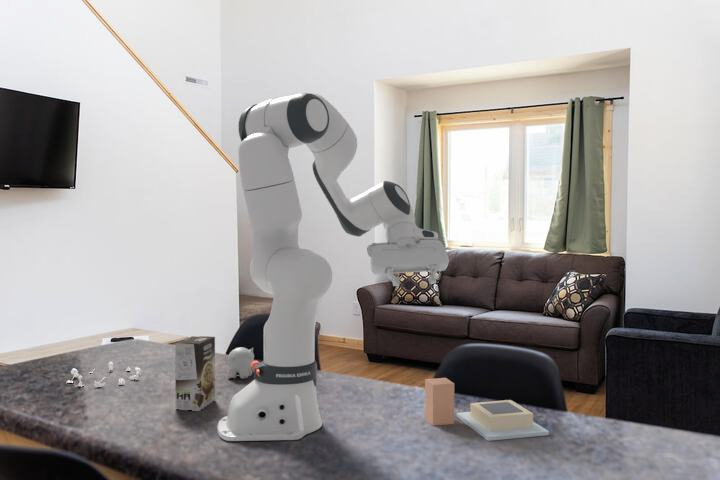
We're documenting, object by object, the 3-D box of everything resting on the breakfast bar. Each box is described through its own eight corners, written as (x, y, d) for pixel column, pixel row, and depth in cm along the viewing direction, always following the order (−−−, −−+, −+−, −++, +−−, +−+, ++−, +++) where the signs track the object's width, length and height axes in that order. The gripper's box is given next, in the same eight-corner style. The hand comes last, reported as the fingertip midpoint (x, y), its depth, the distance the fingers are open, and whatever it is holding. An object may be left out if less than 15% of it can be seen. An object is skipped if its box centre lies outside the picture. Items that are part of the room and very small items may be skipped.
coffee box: (199, 411, 145) (199, 343, 144) (174, 410, 146) (173, 342, 146) (216, 400, 154) (216, 336, 153) (192, 399, 155) (192, 335, 154)
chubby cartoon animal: (263, 370, 183) (263, 342, 183) (246, 381, 172) (246, 350, 171) (241, 369, 185) (241, 341, 185) (223, 379, 173) (222, 349, 173)
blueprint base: (487, 440, 126) (487, 422, 126) (456, 416, 142) (456, 399, 142) (548, 435, 130) (549, 416, 130) (512, 411, 145) (512, 395, 145)
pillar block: (432, 425, 136) (433, 384, 135) (424, 418, 140) (425, 379, 140) (454, 423, 137) (454, 383, 137) (445, 416, 142) (445, 377, 141)
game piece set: (50, 385, 168) (50, 371, 168) (106, 369, 187) (106, 356, 187) (104, 393, 161) (104, 379, 161) (157, 375, 179) (157, 362, 179)
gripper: (367, 235, 160) (375, 278, 151) (443, 232, 163) (456, 273, 155) (364, 251, 165) (373, 293, 156) (438, 247, 168) (450, 288, 159)
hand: (415, 283), depth 155 cm, fingers open, 8 cm apart
